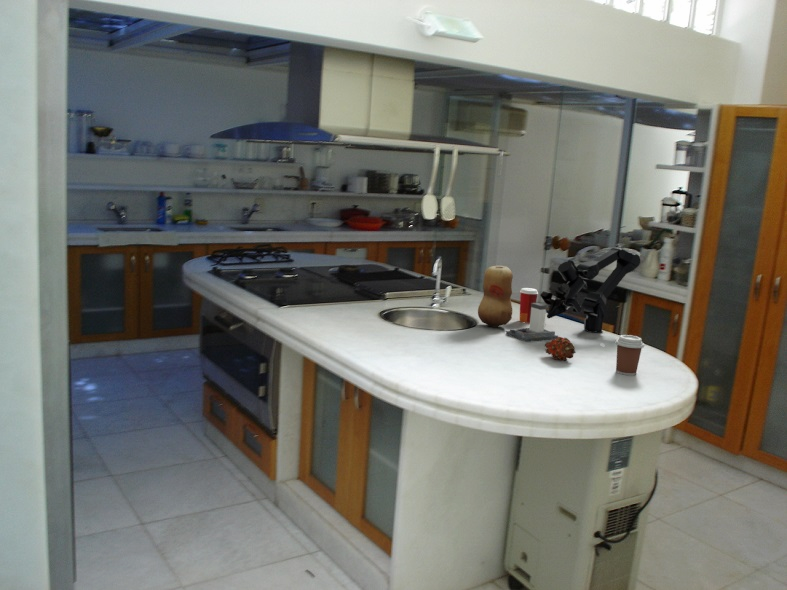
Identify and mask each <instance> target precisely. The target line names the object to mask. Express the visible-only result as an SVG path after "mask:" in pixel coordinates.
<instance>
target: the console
mask: <svg viewBox="0 0 787 590" xmlns="http://www.w3.org/2000/svg"><path fill="white" fill-rule="evenodd" d="M527 329H529V327H523V328H522V327H521V328H511V329H509V330H506V331H505V334H506V335H507V336H510V337H513V338H515V339H518V340H520V341H523V342H526V343H529V342H539V340H540V341H549V340H550V341H551V340H555V339H557V338H558V337H559V335H557V334H556V331H554V330H549V329H545V328H544V331H546V332H537V333H527V332H526V330H527Z"/></svg>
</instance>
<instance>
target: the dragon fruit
mask: <svg viewBox="0 0 787 590" xmlns="http://www.w3.org/2000/svg"><path fill="white" fill-rule="evenodd" d="M544 347H545V348H544V349H545V350H544V351H545V354H547V355H551V356H552V359H553V360H558V359H559V360H560V361H563V362H564V361H566V360H567V359H572V358H573V359H574V354H576V350H575V346H574V343H572V342H571V341H570V339H569V338H568V337H562V336H558V338H557V339H550V341H546V342H545V344H544Z"/></svg>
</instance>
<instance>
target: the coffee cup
mask: <svg viewBox="0 0 787 590" xmlns="http://www.w3.org/2000/svg"><path fill="white" fill-rule="evenodd" d="M642 340H643V339H642V337H639V336H637V335H632V334H629V335H628V334H621V335H619V336H618V338H617V339H616V340H615V344H616V362H615V363H616V365H615V366H616V367H615V372H616V373H618V374H620V375H625V376H636V375H637V371H638V366H639V362H640V356H641V353H642V349H643V348H644V347H645V343H644V342H643V341H642Z"/></svg>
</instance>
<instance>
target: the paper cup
mask: <svg viewBox="0 0 787 590" xmlns="http://www.w3.org/2000/svg"><path fill="white" fill-rule="evenodd" d="M519 293H520V296H519V297H520V299H519V322H520V323H523V322H525V323H524V324H530V316H531V303H537V299H538V295H539V292H538V290H537V289H536V288H531V287H530V288H529V287H522V288H521V289H520V291H519Z"/></svg>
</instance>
